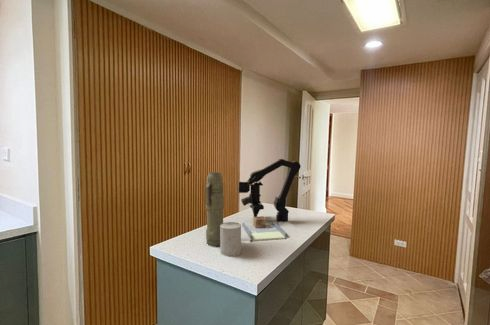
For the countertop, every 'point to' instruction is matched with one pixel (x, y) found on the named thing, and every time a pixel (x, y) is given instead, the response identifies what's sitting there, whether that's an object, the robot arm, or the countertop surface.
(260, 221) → the walnut block
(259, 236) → the board
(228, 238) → the grey concrete cylinder
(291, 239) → the countertop surface
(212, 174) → the thermos
